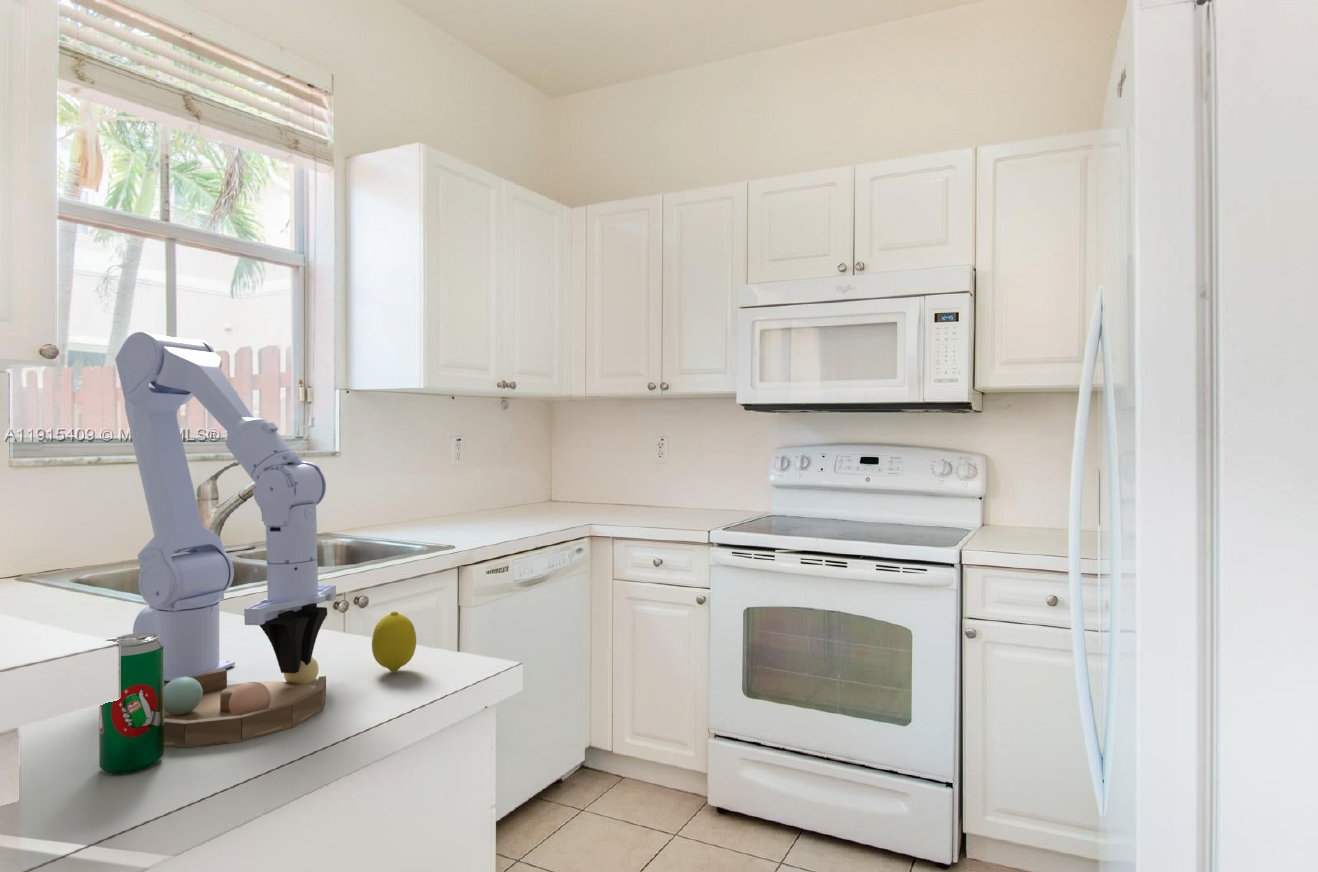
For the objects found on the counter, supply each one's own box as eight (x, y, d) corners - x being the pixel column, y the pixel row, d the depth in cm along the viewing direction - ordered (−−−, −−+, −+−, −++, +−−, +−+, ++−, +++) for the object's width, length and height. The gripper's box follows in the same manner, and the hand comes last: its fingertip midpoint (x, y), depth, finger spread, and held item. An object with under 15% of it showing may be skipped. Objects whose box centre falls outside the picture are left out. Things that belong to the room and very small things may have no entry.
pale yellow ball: (297, 659, 101) (283, 689, 98) (288, 646, 98) (273, 676, 95) (327, 664, 101) (314, 694, 98) (319, 651, 98) (305, 682, 95)
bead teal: (151, 718, 84) (151, 682, 84) (180, 706, 88) (180, 671, 88) (182, 721, 83) (182, 684, 83) (211, 708, 87) (211, 673, 87)
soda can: (120, 755, 75) (120, 632, 75) (174, 753, 76) (174, 630, 76) (86, 778, 70) (86, 646, 70) (145, 776, 71) (145, 644, 71)
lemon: (402, 680, 98) (402, 617, 98) (363, 677, 99) (363, 615, 99) (424, 667, 104) (424, 607, 104) (386, 664, 105) (386, 605, 105)
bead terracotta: (220, 724, 82) (220, 687, 82) (247, 711, 86) (247, 675, 86) (253, 727, 81) (253, 689, 81) (278, 714, 85) (279, 678, 85)
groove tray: (81, 738, 79) (81, 714, 79) (222, 680, 98) (222, 661, 98) (245, 753, 76) (245, 729, 76) (358, 690, 94) (358, 670, 94)
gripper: (280, 570, 88) (283, 689, 88) (355, 552, 103) (358, 654, 102) (227, 570, 90) (230, 687, 90) (308, 551, 104) (310, 652, 104)
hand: (295, 669), depth 96 cm, fingers closed
